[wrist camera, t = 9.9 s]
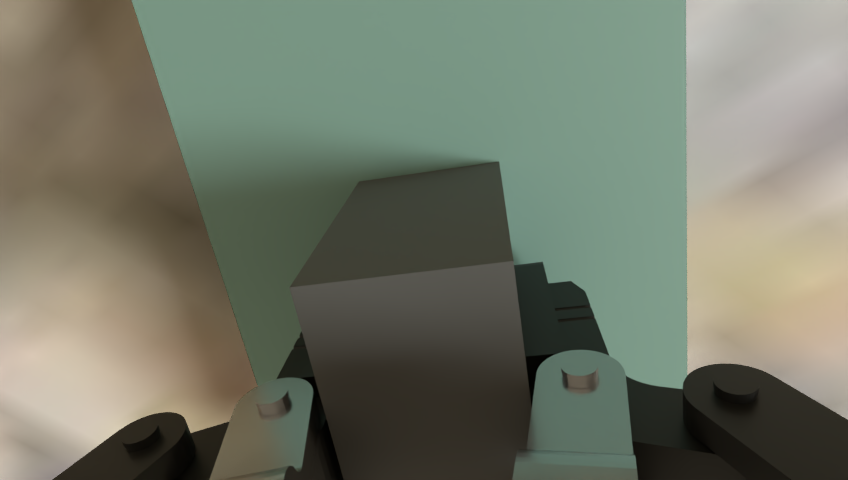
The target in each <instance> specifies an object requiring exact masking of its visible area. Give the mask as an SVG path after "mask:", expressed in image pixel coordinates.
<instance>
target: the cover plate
mask: <svg viewBox="0 0 848 480" xmlns="http://www.w3.org/2000/svg"><path fill="white" fill-rule="evenodd" d="M132 3H133V6H134V9H135V12H136V16H137V19H138V22H139V25H140V28H141V31H142V34H143V37H144V40H145V43H146V46H147V49H148V52H149V55H150V58H151V61H152V64H153V67H154V71H155V74H156V77H157V80H158V83H159V86H160V89H161V92H162V95H163V98H164V101H165V104H166V107H167V110H168V113H169V116H170V119H171V122H172V125H173V129H174V132H175V135H176V138H177V141H178V144H179V147H180V150H181V153H182V156H183V159H184V162H185V165H186V168H187V171H188V174H189V177H190V180H191V184H192V187H193V190H194V193H195V196H196V199H197V202H198V205H199V208H200V211H201V214H202V217H203V220H204V223H205V226H206V229H207V232H208V235H209V238H210V242H211V245H212V248H213V251H214V254H215V257H216V260H217V263H218V266H219V269H220V272H221V275H222V278H223V281H224V284H225V287H226V290H227V293H228V297H229V300H230V303H231V306H232V309H233V312H234V315H235V318H236V321H237V324H238V327H239V330H240V333H241V336H242V339H243V342H244V345H245V348H246V351H247V355H248V358H249V361H250V364H251V367H252V370H253V373H254V376H255V379H256V382H257V385H258V386H259V385H262V384H264V383H266V382H269V381H272V380H276V379H277V377H278V375H279V373H280V371H281V369H282V367H283V365H284V364H285V362H286V360H287V358H288V356H289V354H290V352H291V350H292V349H294V347H293V346H294V345H295V343H296V341H297V339H298V338H300V336H299V335H300V333H301V331H302V334H303V338H304V341H305V345H306V348H307V352H308V355H309V359H310V362H311V366H312V369H313V373H314V376H315V380H316V384H317V387H318V391H319V394H320V398H321V401H322V405H323V408H324V412H325V415H326V419H327V422H328V426H329V430H330V433H331V437H332V440H333V444H334V447H335V451H336V454H337V458H338V461H339V465H340V468H341V472H342V475H343V479H344V480H512V479H513V472H514V465H515V459H516V455H517V452H518V450H519V449H527V441H528V434H529V426H530V418H531V411H532V408H531V399H530V391H529V383H528V375H527V367H526V359H525V351H524V343H523V334H522V326H521V318H520V310H519V302H518V294H517V286H516V278H515V270H514V265H519V264H528V263H536V262H543V265H544V268H545V272H546V276H547V280H548V283H557V282H566V281H572V282H573V283H574V284H576V285H577V286H579V287H580V288H581V289H583V290H584V291H585V292H586V295H587V297H588V300H589V303H590V306H591V308H592V311H593V313H594V317H595V319H596V321H597V324H598V327H599V329H600V332H601V335H602V337H603V340H604V342H605V345H606V348H607V350H608V353H609V356H611V357H612V358H614V359H615V360H617V361H618V362H619V363H620V364H621V365H622V366H623V368H624V370H625V374H626V376H627V377H629V378H632V379H634V380H636V381H639V382H642V383H645V384H649V385H654V386H660V387H669V388H677V389H683V382H684V380H685V378H686V377H687V196H686V0H132Z"/></svg>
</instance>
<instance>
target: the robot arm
mask: <svg viewBox="0 0 848 480" xmlns="http://www.w3.org/2000/svg"><path fill="white" fill-rule="evenodd" d="M514 270H515V278H516V286H517V294H518V302H519V310H520V318H521V326H522V334H523V343H524V351H525V359H526V367H527V375H528V383H529V391H530V399H531V408H532V411H531V418H530V426H529V434H528V441H527V449H519V450H518V452H517V455H516V459H515V465H514V472H513V479H512V480H848V420H847V419H845V418H844V417H842V416H840V415H839V414H837V413H835V412H833V411H832V410H830V409H828V408H827V407H825V406H823V405H822V404H820V403H818V402H816V401H815V400H813V399H811V398H810V397H808V396H806V395H805V394H803V393H801V392H799V391H798V390H796V389H794V388H793V387H791V386H789V385H787V384H786V383H784V382H782V381H781V380H779V379H777V378H776V377H774V376H772V375H770V374H768V373H766V372H764V371H761V370H759V369H756V368H752V367H749V366H743V365H737V364H713V365H708V366H704V367H701V368H698V369H696V370H694V371H693V372H691V373H690V374H689V375H688V376H687V377H686V378H685V380H684V382H683V389H677V388H669V387H660V386H654V385H649V384H645V383H642V382H639V381H636V380H634V379H632V378H629V377H627V376H626V374H625V370H624V368H623V366H622V365H621V364H620V363H619V362H618V361H617V360H615V359H614V358H612V357H611V356H609V353H608V350H607V348H606V345H605V342H604V340H603V337H602V335H601V332H600V329H599V327H598V324H597V321H596V319H595V317H594V313H593V311H592V308H591V306H590V303H589V300H588V297H587V295H586V292H585V291H584V290H583V289H581V288H580V287H579V286H577V285H576V284H574V283H573V282H572V281H566V282H557V283H548V280H547V276H546V272H545V268H544V265H543V262H536V263H528V264H519V265H514ZM299 336H300V338H298V339H297V341H296V343H295V345H294V346H293V347H294V349H292V350H291V352H290V354H289V356H288V358H287V360H286V362H285V364H284V365H283V367H282V369H281V371H280V373H279V375H278V377H277V379H276V380H272V381H269V382H266V383H264V384H262V385H259V386H258V387H256V388H254V389H252V390H251V391H249V392H248V393H247V394H246V395H244V396H243V397H242V398H241V399H240V400H239V402H238V403H237V404H236V406H235V408H234V411H233V414H232V416H231V419H230V421H229V422H226V423H223V424H220V425H217V426H213V427H210V428H207V429H203V430H200V431H197V432H193V433H190V431H189V428H188V425H187V423H186V420H185V419H184V417H183V416H181V415H179V414H177V413H172V412H165V413H157V414H153V415H149V416H146V417H143V418H141V419H138V420H136V421H134V422H132V423H130V424H129V425H127V426H125V427H124V428H122V429H121V430H119V431H118V432H116V433H115V434H114V435H112V436H111V437H110V438H108V439H107V440H106V441H104V442H103V443H101V444H100V445H99V446H97V447H96V448H95V449H93V450H92V451H91V452H89V453H88V454H87V455H85V456H84V457H83V458H81V459H80V460H78V461H77V462H76V463H74V464H73V465H72V466H70V467H69V468H68V469H66V470H65V471H64V472H62V473H61V474H60V475H58V476H57V477H55V478H54V479H53V480H344V479H343V475H342V472H341V468H340V465H339V461H338V458H337V454H336V451H335V447H334V444H333V440H332V437H331V433H330V430H329V426H328V422H327V419H326V415H325V412H324V408H323V405H322V401H321V398H320V394H319V391H318V387H317V384H316V380H315V376H314V373H313V369H312V366H311V362H310V359H309V355H308V352H307V348H306V345H305V341H304V338H303V334H302V331H301V333H300V335H299Z"/></svg>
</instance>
